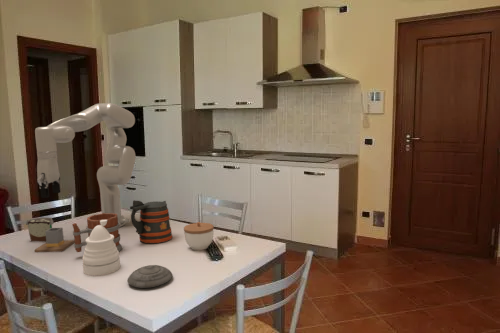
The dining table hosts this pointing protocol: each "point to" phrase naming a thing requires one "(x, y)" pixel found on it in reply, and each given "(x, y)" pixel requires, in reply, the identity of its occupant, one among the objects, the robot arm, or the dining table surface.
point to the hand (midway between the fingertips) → (51, 195)
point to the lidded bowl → (199, 235)
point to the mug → (92, 222)
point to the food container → (39, 228)
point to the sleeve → (54, 237)
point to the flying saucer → (149, 276)
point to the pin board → (55, 249)
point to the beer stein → (152, 221)
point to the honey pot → (100, 252)
